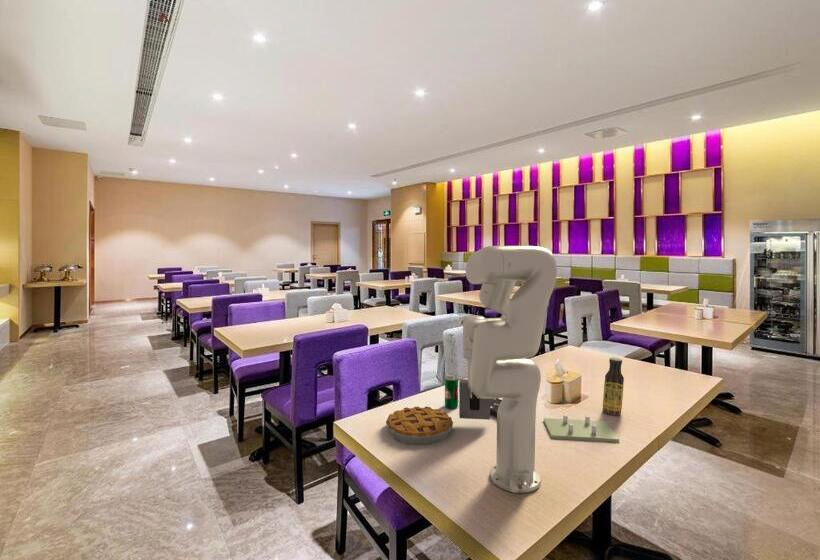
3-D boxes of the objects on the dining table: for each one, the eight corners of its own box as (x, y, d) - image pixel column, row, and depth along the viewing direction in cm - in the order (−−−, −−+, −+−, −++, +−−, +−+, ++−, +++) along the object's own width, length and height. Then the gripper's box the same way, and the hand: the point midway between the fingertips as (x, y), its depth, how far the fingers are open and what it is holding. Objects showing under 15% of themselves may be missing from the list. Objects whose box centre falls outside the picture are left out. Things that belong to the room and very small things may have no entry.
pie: (435, 413, 146) (435, 400, 146) (465, 440, 126) (465, 424, 125) (377, 423, 138) (377, 409, 138) (399, 453, 118) (399, 436, 117)
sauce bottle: (602, 414, 144) (603, 359, 143) (602, 408, 150) (604, 355, 148) (622, 417, 141) (624, 362, 140) (622, 411, 147) (624, 357, 145)
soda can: (442, 405, 153) (442, 374, 152) (454, 403, 155) (454, 372, 154) (448, 410, 148) (448, 378, 148) (460, 408, 150) (460, 376, 149)
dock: (619, 442, 123) (619, 431, 123) (551, 438, 126) (551, 427, 126) (604, 424, 136) (605, 414, 136) (543, 420, 139) (543, 411, 139)
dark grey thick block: (490, 419, 132) (490, 383, 131) (459, 418, 133) (459, 382, 133) (489, 415, 136) (489, 380, 135) (459, 413, 137) (459, 379, 137)
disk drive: (475, 410, 150) (505, 423, 138) (474, 402, 150) (505, 415, 138) (494, 403, 156) (525, 415, 144) (494, 396, 156) (525, 408, 144)
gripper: (487, 359, 125) (487, 417, 126) (484, 347, 141) (484, 399, 142) (462, 358, 126) (463, 416, 127) (463, 347, 143) (463, 398, 143)
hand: (474, 406), depth 135 cm, fingers closed on dark grey thick block, 4 cm apart
